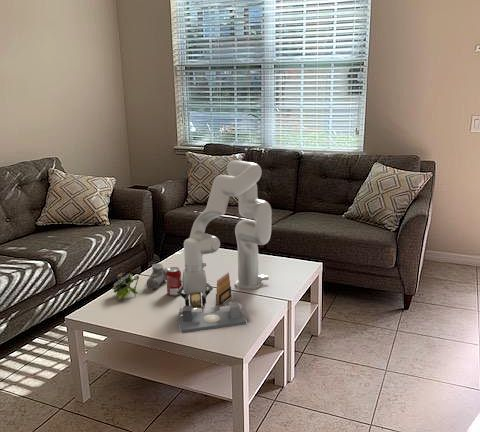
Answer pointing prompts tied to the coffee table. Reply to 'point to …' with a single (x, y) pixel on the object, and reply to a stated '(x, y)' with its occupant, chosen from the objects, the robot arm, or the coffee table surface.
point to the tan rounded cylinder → (195, 300)
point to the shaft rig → (214, 319)
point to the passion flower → (124, 285)
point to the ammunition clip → (223, 290)
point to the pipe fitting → (157, 276)
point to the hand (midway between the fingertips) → (195, 305)
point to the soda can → (173, 280)
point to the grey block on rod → (189, 312)
